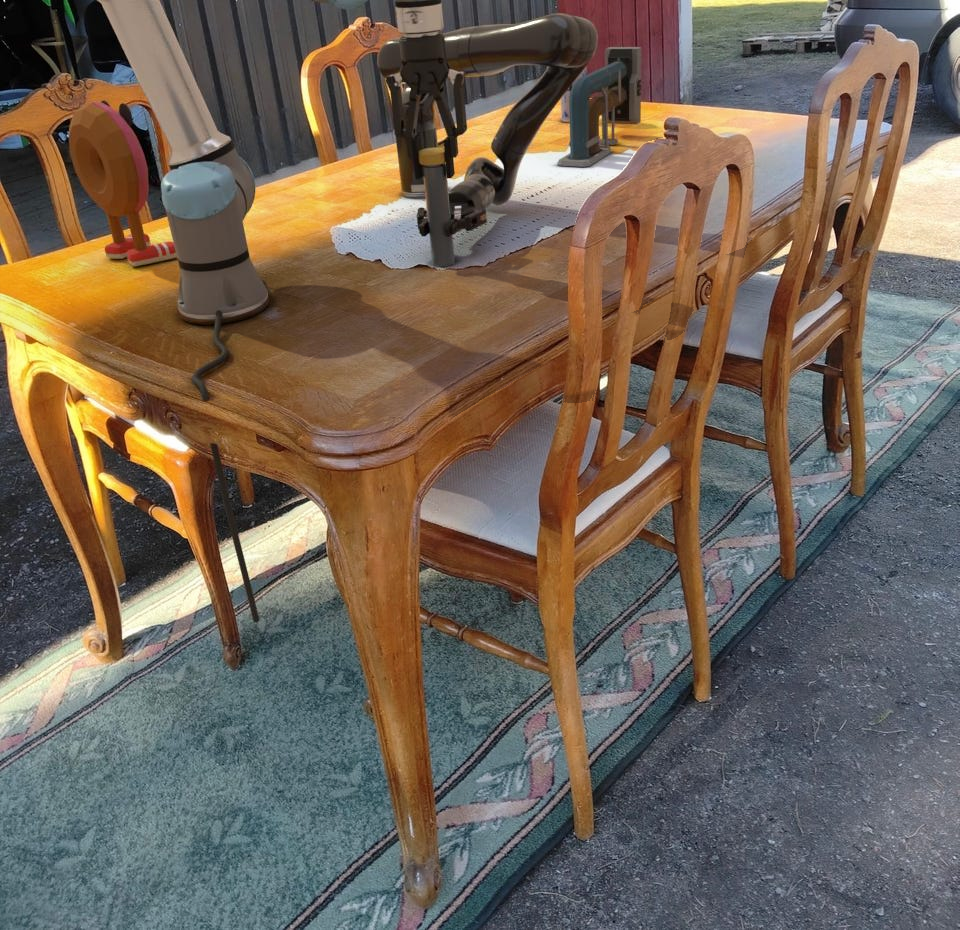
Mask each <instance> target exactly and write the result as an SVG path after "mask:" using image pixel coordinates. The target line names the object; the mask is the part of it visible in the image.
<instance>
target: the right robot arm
mask: <svg viewBox="0 0 960 930" xmlns="http://www.w3.org/2000/svg"><path fill="white" fill-rule="evenodd" d="M443 35H444V36H445V48H446V60H447V63H448V65H449V66H450V69H452V70H455V71H458V72H460V71H464V72H465V74H466V77H465V78H475V77H476V78H477V77H486V76H493V75H496V74H499V73H502V72H504V71H506V70H508V69H510V68H512V67H515V66H545V67H547V68H546V70H544V72H543V74H542V75H541V77H539V79H538V80H537V81H536V83H535V84H534V85H533V86H532V87H531V88H530V89H529V90H528V91H527V92H526V93H525V94H524V95H522V96H521V98H520V99H518V100H517V102H516V103H515V104H514V105H513V106H512V107H511V108H510V109H509V111H508V113H507V114H506V115H505V117H504V119H503V120H502V122H501V124H500V126H499V128H498V130H497V132H496V133H495V135H494V137H493V139H492V141H491V142H490V143H491V144H490V149H491V151H492V153H493V154H494V155H495V157H497V159H499V161H500V162H501V165H502V166H503V167H501V166H500V165H498V164H497V163H495V162H493V161H492V160H491V159H489V158H488V157H483V156H479V157H476V158H475V159H473V160H472V161H471V162H470V164H469V165H468V166H467V168H466V171H465V173H464V178H463V181H460V182H459V183H457V184H455V185H454V186H452V188H451V189H450V190H448V193H449V204H450V215H451V221H450V222H448V223H447V224H446V226H445V230H446V237H451V236H452V237H453V235H455V234H457V233H459V232H462V231H463V230H465V231H466V232H471V231H472V230H475V229H477V228H479V227H481V226H483V225H484V224H485V225H486V224H487V223H488V218H487V217H488V216H487V209H488V208H489V207H490V206H491V204H492V205H494V206H501V205H502V206H503V205H504V204H506V203H507V202H508V201H509V200H510V199H511V198H512V195H513V194H514V190H515V187H516V182H517V177H518V173H519V171H520V170H519V169H520V167H521V164H522V161H523V159H524V157H525V155H526V153H527V151H528V150H529V148H530V146H531V145H532V143H533V141H534V139H535V138H536V136H537V134H538V132H539V131H540V129H541V128H542V126H543V124H544V123H545V121H546V120H547V118H548V117H549V115H550V114H551V112H552V111H553V110H554V109H555V107H556V105H558V103H559V102H560V101H561V98H562V96H563V95H564V94H565V92H566V91H567V90H568V89H569V87H570V86H571V85H572V83H573V82H574V81H575V80H576V78H577V77H578V76H579V75H580V74H581V72H582V71H583V70H584V69H585V67H586V66H587V67H588V65H589V63H591V60H592V59H593V58H594V55H595V54H596V52H597V47H598V43H599V42H598V41H599V37H598V31H597V29H596V27H595V25H594V24H593V23H592V21H590V20H589V19H587V18H585V17H581V16H578V15H577V16H576V15H572V14H571V15H570V14H567V13H552V14H547V15H544V16H540V17H537V18H534V19H530V20H526V21H523V22H518V23H509V24H507V23H498V24H497V23H496V24H484V25H483V24H482V25H475V26H468V27H463V28H459V29H456V30H451V31H447V32H445V33H443ZM400 37H401V36H397V37H393V38H390V39H389V40H387V41H386V42H384V43H383V44H382V46H380V48H379V51H378V53H377V57H376V65H377V69H378V70H379V73H380V74H381V76H382V77H383V78H384V79H386V78H387V77H388V76H390V75H392V74H396V73H399V72H400V69H401V65H402V61H401V53H400V44H399V39H400ZM447 78H450V77H449V76H448V77H447ZM402 85H403V87H402V88H403V89H402V90H401V94H402V104H403V114H404V125H405V129H406V124H407V116H408V109H409V101H410V99H409V96H410V87H409V86H408V85H407V84H406V82H405V81H404V80H403V78H402ZM435 104H436V101H435V100H434V98H433V95H432V94H428V93H424V94H421V98H420V104H419V111H418V118H417V126H416V133H415V134H416V135H415V138H416V137H420V144H421V150H423V149H427V148H435V147H441V146H442V145H444V139H442V140H441V141H438V132H437V123H436V110H435ZM395 144H396V151H397V160H398V161H397V162H398V170H399V171H398V172H399V180H400V187H401V189H400V192H401V195H402V196H403V197H406V198H415V199H416V198H417V199H419V198H426V197H425V187H424V178H423V176H422V177H421V178H420V179H416V178H415V168H414V159H409V157H408V152H407V144H406V140H405V139H404V138H402V137H397V136H395ZM416 224H417V230H418V232H419V235H420V236H421V237H427V236H428V235H429V226H428V216H427V209H425V207H421V206H420V207H418V208H417V213H416Z"/></svg>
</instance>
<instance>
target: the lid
mask: <svg viewBox="0 0 960 930" xmlns="http://www.w3.org/2000/svg"><path fill="white" fill-rule="evenodd" d="M418 153H419V163H420V164H422V165H439V164H443V163H446V162H445V151H444V147H441V146H438V147H435V148H427V149H423V150H420V151H419V152H418Z"/></svg>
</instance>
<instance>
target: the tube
mask: <svg viewBox="0 0 960 930" xmlns="http://www.w3.org/2000/svg"><path fill="white" fill-rule="evenodd" d="M422 168H423V178H424V187H425V197H424V198H425V205H426V210H427V216H428V226H429V234H428V235H429V243H430V244H429V245H430V253H431V254H430V255H431V263H432V265H433V266H435V267H448V266H449V267H450V266H452V265H453V264H455V262H456V261H455V250H454V249H455V248H454V238H453V235H452V236H451V237H446V230H445V226H446V224H447V223H448V222H450V221H451V215H450V204H449V193H448V192H449V183H448V178H447V173H446V163H443V164H439V165H423V166H422Z"/></svg>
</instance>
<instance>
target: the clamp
mask: <svg viewBox="0 0 960 930" xmlns="http://www.w3.org/2000/svg"><path fill="white" fill-rule="evenodd" d="M596 93H600V94H597V95H595V96H593V97H591V96H592V95H594V94H596ZM641 106H642V47H641V46H609V47H606V48H605V66H603V67H601V68H599V69H597V70H594V71H592V72H590V73H587V75H585V76H583V77H581V78H579V79H578V81H577V82H576V83H575V84H574V85H573V86H572V89H571V91H570V96H569V114H570V122H569V142H568V147H569V151H570V153H568V154H566V155H564V156H562V157H561V158H559V159H558V161H557V163H556V165H558V166H561V167H562V166H563V167H581V168H584V167H591V166H592V165H593V164H595V163H597V162H598V161H600V160H601V159H603V158H605V157H606V156H607V155H609V154H611V153H612V152H613V151H612V149H611V146H616V145H617V144H619V140H618V138H615V125H638V124H640V123H641V122H642V120H641V119H642V117H641V115H642V114H641V113H642V107H641ZM600 116H601V136H600ZM610 124H611V136H610V138H609V125H610Z"/></svg>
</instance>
